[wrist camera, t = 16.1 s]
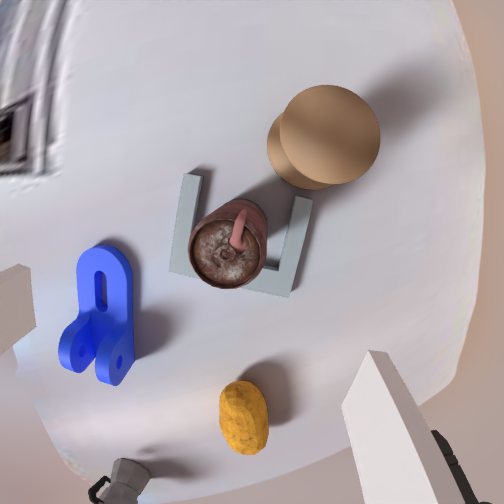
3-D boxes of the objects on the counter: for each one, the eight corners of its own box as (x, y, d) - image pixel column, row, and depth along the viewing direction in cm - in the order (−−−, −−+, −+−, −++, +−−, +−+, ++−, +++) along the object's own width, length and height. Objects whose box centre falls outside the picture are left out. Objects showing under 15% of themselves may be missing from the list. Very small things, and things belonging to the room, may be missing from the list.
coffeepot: (162, 484, 52) (145, 541, 34) (132, 482, 53) (112, 534, 36) (127, 447, 48) (98, 509, 31) (97, 445, 50) (67, 500, 32)
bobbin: (276, 98, 31) (281, 61, 20) (358, 119, 31) (399, 96, 20) (259, 178, 34) (254, 180, 22) (341, 198, 34) (377, 210, 22)
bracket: (135, 360, 42) (112, 395, 33) (90, 346, 42) (63, 377, 33) (133, 249, 37) (100, 270, 28) (83, 240, 37) (44, 257, 29)
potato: (228, 431, 45) (223, 461, 38) (216, 368, 41) (208, 400, 34) (269, 431, 44) (269, 462, 37) (266, 368, 41) (265, 400, 34)
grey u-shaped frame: (187, 173, 34) (183, 173, 33) (311, 199, 34) (313, 200, 33) (172, 267, 37) (168, 271, 36) (287, 293, 37) (288, 297, 36)
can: (273, 203, 35) (276, 222, 21) (259, 254, 36) (254, 302, 23) (222, 190, 35) (194, 201, 21) (210, 241, 36) (178, 281, 23)
